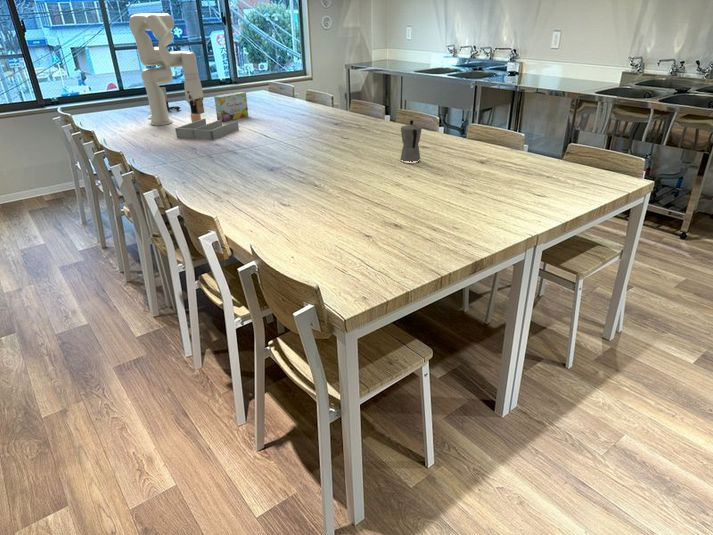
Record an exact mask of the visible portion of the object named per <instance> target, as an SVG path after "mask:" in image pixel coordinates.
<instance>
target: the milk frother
mask: <svg viewBox="0 0 713 535" xmlns="http://www.w3.org/2000/svg"><path fill="white" fill-rule="evenodd" d="M159 87H160V88H161V89H162V90H163V92H164V96H165V101H166V106H167V111H168V112H169V111H171V110H173V111H174V110H175V111H180V109H181V106H169V101H168V96H167V90H166V87H164V86H163V87H161V86H159Z"/></svg>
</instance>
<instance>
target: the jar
mask: <svg viewBox="0 0 713 535" xmlns="http://www.w3.org/2000/svg"><path fill="white" fill-rule="evenodd" d="M201 119H202V116H201V114H191V113H190V121H191V123H192V122H195V121H198V120H201Z"/></svg>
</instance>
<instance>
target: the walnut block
mask: <svg viewBox="0 0 713 535" xmlns="http://www.w3.org/2000/svg"><path fill="white" fill-rule="evenodd" d="M192 102H193V101H192ZM195 105H196V109H197V113H192V111H191V110H190V115H191V114H200V115H201V114H205V106H204V99H203V100H201V99H195ZM189 107H190V109H191V105H190V104H189Z"/></svg>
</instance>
